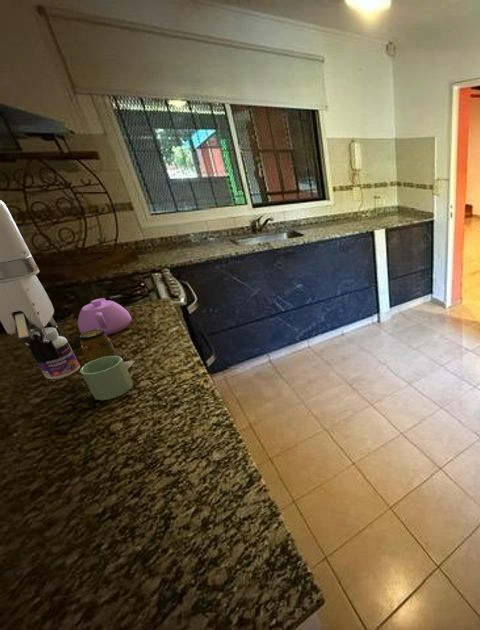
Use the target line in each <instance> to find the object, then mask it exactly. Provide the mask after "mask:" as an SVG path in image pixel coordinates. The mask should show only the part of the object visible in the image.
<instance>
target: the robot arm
mask: <svg viewBox="0 0 480 630" xmlns="http://www.w3.org/2000/svg"><path fill="white" fill-rule="evenodd" d="M40 272H41V271H40V269H39V267H38V265H37V264H36V261H35V259H34V257H33V256H32V254H31V251H30V250H29V248H28V245H27V244H26V241H25V240H24V238H23V236H22V234H21V232H20V230H19V228H18V226H17V224H16V222H15V220H14V218H13V216H12V214H11V213H10V210H9V208H8V206H7V205H6V203H5V202H4V201H3V200H1V199H0V323H1V324H2V326H3V328H4V330H5V332H6V333H7V334H8V335H16V333H17V336H18V338H19V339H20V340H21V341H23V342H24V344H25V346H26V347H27V348H28V349H29V352H30V351H31V352H30V353H31V355H32V354H33V355H32V357H33V356H34V357H33V359H34V358H35V359H36V360H35V359H34V360H35V362H36V361H37V362H38V363H43V362H48V361H52V360H57V359H59V358H60V355H59V353H58V351H57V349H56V348H55V346H54V344H53V342H52V340H50V341H49V340H48V337H47V335H46V332H45V329H44V328H49V327H52V328H55V329H56V330H57V332H58V334H59V335H58V336H62V337H64V335H63V333H62V332H61V329H60V328H59V327H58V323H57V322H56V321H55V319H54V314H55V309H54V306H53V303H52V300H51V299H50V297H49V295H48V293H47V291H46V290H45V288H44V286H43V284H42V283H41V282H40V280H39V277H38V276H37V275H38V274H39V273H40ZM32 326H33V327H34V328H31V327H32ZM36 331H39V334H40V336H41V337H40V336H39V335H37V334H33V333H32V332H36ZM37 362H36V363H37Z"/></svg>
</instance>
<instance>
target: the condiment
mask: <svg viewBox="0 0 480 630" xmlns="http://www.w3.org/2000/svg"><path fill="white" fill-rule="evenodd" d="M78 340H79V341H80V344H81V345H80V348H81V350H82V352H83V355H84V356H85V358H86V360H87V363H89V362H91V361H93V360H96V359H98V358H102V357H106V356H119V355H118V353H117V351H116V349H115V347H114V344H113V342H112V340H111V339H110V338H109V337H108V335H106V334H105V332H104V330H101V329H96V330H90V331H87V332H84V333H81V334H79V335H78ZM123 362H124V364H125V366H126V368H127V370H129V369H130V368H131V367H132V365H134V363H135V362H136V360H127V361H123Z"/></svg>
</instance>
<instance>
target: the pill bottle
mask: <svg viewBox="0 0 480 630" xmlns="http://www.w3.org/2000/svg"><path fill="white" fill-rule="evenodd" d="M44 329H45V332H46V335H47V337H48V340H49V341H50V340H52V342H53V344H54V346H55V348H56V349H57V351H58V353H59V355H60V358H59V359H57V360H52V361H48V362H43V363H38V362H37V361H36V359H35V358H34V356H33V354H32V353H31V351H30V350H29V352H30V353H31V355H32V357H33V359H34V360H35V362H36V364H37V365H38V368H39V369H40V371H41V372H42V374H43V376H44V378H45V379H49V380H58V379H62V378H66V377H69V376H71V375H73V374H75V373H76V372H78V370H79V371H80V369H81V365H80V363H79V361H78V359H77V357H76V355H75V353H74V351H73V349H72V347H71V345H70V343H69V341H68V339H67V338H66V337H65V336H63V337H62V336H58V335H59V334H58V332H57V330H56V329H55V328H52V327H49V328H44ZM32 333H33V334H37V335H39V336H40V334H39V331H36V332H32ZM40 337H41V336H40Z"/></svg>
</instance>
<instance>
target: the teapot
mask: <svg viewBox="0 0 480 630" xmlns="http://www.w3.org/2000/svg"><path fill="white" fill-rule="evenodd" d="M131 322H132V316H131V314H130V312H129V311H128V310H127V309H125V308H124V307H123V306H122V305H120V304H119V303H117V302H116V301H113V300H109V299H107V300H106V298H105V297H99V298H96V299H93V300H90V302H89V303H88V304H86V305H84V306H83V307H82V308H80V312H79V315H78V318H77V327H78V330H79V332H80V333H81V334H82V333H84V332H87V331H90V330H96V329H101V330H104V332H105V334H106V335H107V336H109V335H113V334H115V333H119V332H121V331H123V330H125V329H126V328H128V327H129V326H130V324H131Z"/></svg>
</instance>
